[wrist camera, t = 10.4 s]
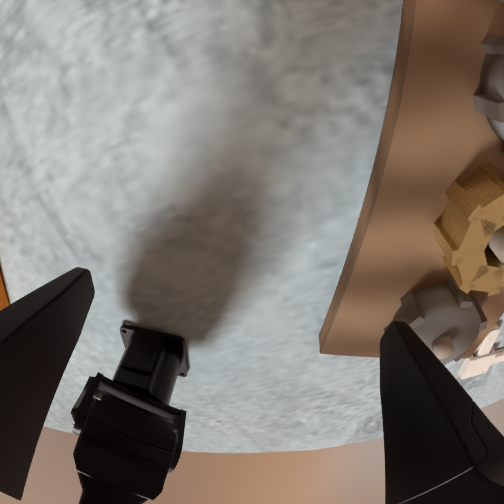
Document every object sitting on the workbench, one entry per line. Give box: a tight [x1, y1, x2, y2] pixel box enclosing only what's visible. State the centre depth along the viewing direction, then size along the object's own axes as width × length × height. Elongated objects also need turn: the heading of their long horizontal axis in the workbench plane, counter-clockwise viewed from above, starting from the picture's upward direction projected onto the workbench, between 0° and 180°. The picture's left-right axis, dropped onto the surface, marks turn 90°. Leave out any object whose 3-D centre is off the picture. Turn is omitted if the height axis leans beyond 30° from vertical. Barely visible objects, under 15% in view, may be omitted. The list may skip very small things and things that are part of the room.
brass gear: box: [433, 164, 504, 296], centre depth 15 cm, size 8×8×3 cm
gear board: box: [319, 0, 504, 365], centre depth 15 cm, size 28×16×6 cm, turn 174°
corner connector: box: [459, 324, 504, 379], centre depth 25 cm, size 8×8×2 cm
